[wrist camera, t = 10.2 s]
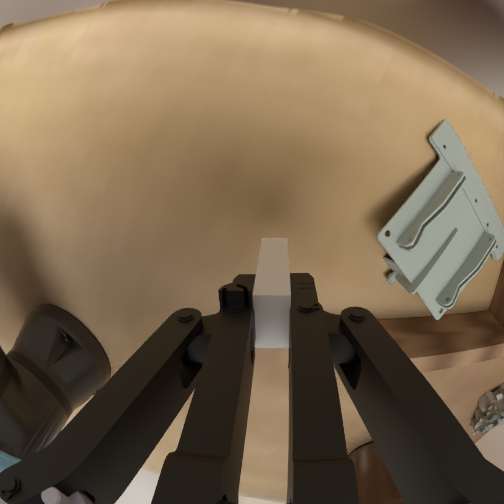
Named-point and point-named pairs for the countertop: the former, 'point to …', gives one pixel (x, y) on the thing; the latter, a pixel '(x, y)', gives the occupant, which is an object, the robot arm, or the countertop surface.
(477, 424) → the egg carton
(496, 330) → the wooden corner frame
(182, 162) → the countertop surface
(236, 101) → the countertop surface
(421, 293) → the metal bracket
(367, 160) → the countertop surface
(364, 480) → the plant pot
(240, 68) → the countertop surface
